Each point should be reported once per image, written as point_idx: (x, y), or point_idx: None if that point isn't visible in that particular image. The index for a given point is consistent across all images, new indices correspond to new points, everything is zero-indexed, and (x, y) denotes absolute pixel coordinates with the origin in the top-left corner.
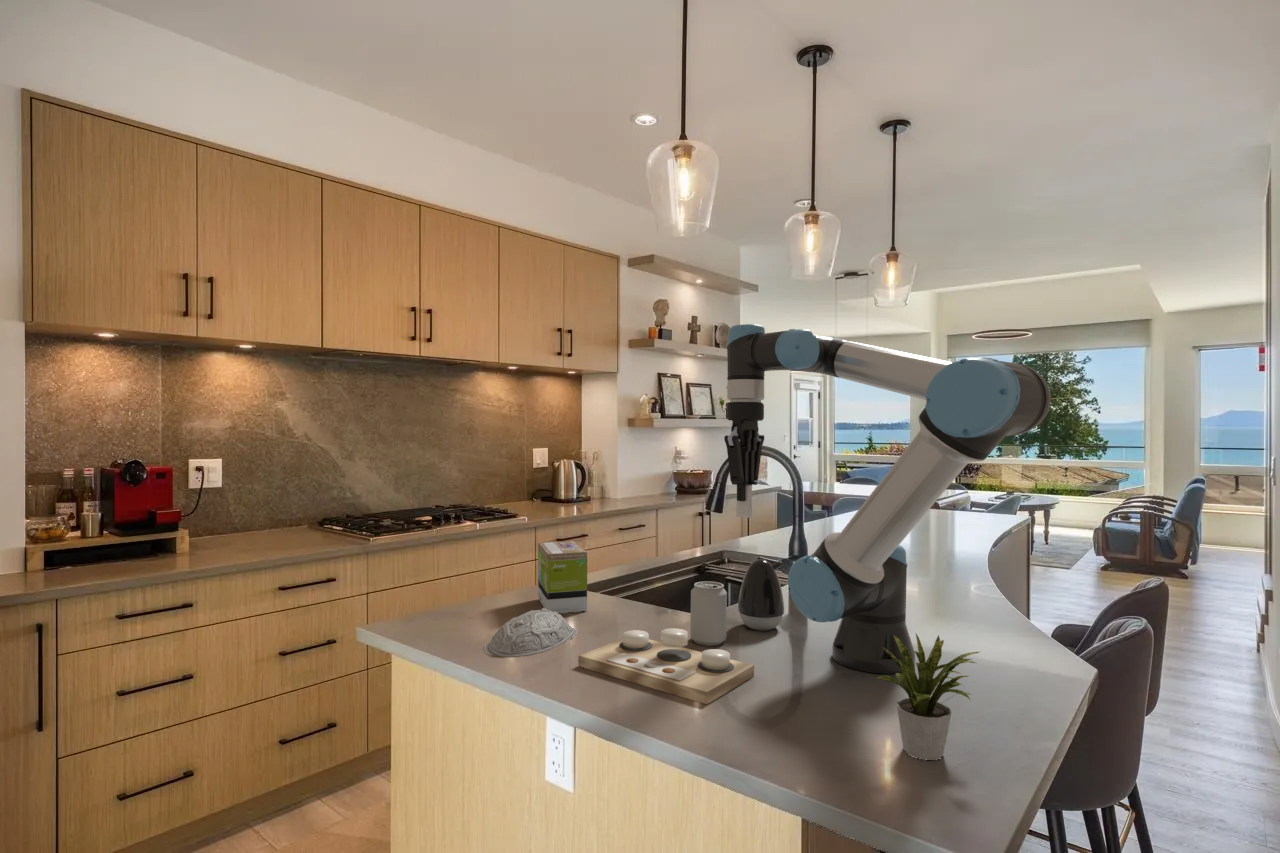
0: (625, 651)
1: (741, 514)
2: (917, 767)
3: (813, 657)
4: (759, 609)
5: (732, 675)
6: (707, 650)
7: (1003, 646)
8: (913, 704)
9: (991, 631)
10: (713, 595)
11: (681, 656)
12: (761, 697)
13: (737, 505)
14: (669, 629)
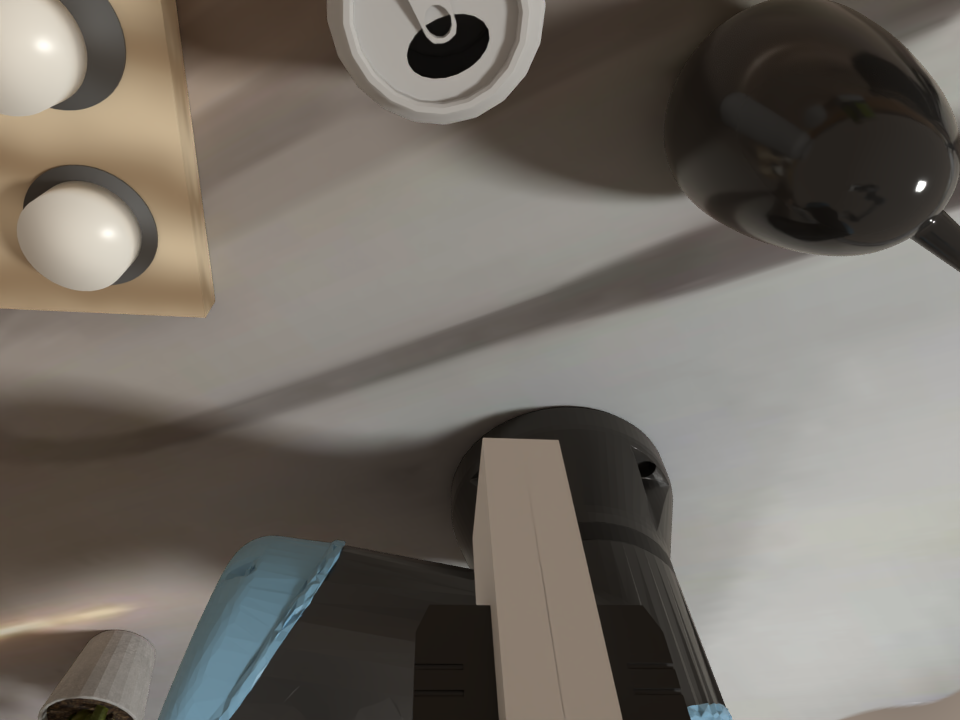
0: None
1: (478, 501)
2: (59, 654)
3: (491, 373)
4: (676, 163)
5: (73, 303)
6: (74, 203)
7: (820, 656)
8: (83, 716)
9: (946, 627)
10: (363, 89)
11: None
12: (95, 375)
13: (490, 532)
14: (9, 3)
